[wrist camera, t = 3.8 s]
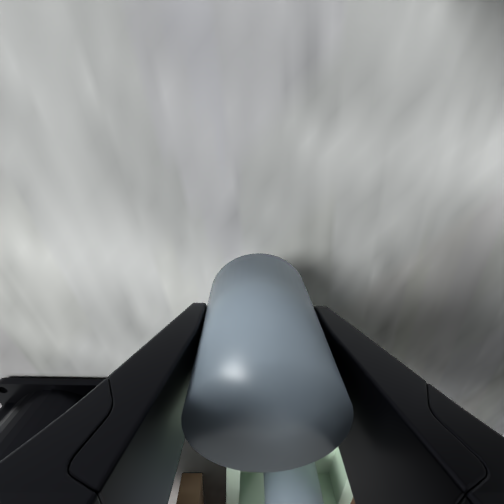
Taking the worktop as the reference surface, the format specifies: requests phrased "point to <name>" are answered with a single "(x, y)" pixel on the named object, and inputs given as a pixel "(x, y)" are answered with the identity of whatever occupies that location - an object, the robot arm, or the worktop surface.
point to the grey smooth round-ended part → (293, 486)
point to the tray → (329, 473)
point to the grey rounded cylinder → (264, 373)
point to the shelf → (195, 489)
